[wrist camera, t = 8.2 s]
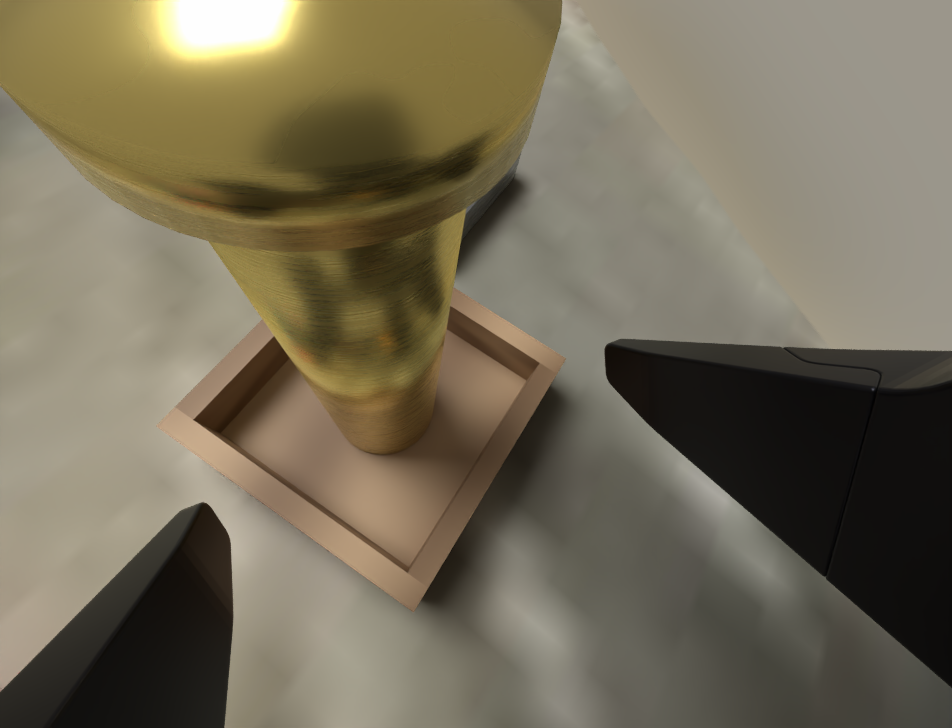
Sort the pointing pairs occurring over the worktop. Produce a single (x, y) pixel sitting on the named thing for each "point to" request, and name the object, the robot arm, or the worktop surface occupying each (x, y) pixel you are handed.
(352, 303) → the pin
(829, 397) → the robot arm
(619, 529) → the worktop surface
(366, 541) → the tray
